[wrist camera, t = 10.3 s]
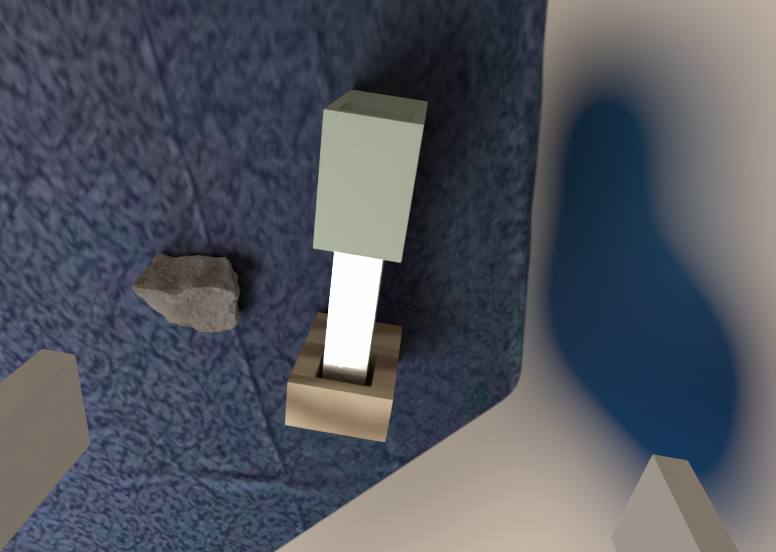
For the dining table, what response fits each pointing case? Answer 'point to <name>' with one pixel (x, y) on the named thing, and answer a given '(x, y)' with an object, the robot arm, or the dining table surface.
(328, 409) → the socket block
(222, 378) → the dining table surface
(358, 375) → the grey-banded white peg
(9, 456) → the robot arm
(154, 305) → the stone
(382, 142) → the sleeve
